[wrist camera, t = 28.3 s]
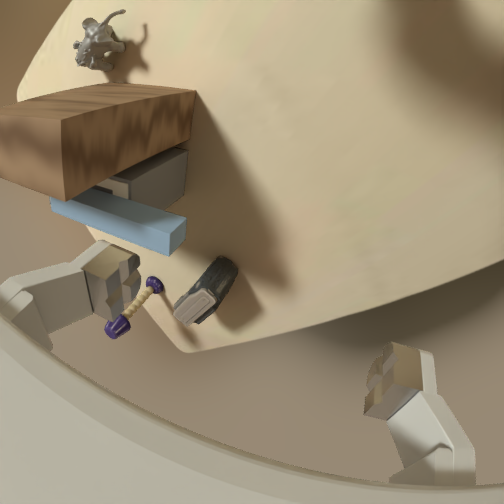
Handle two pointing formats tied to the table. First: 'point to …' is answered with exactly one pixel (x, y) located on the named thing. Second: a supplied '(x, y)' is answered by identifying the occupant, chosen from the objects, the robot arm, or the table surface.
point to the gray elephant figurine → (97, 44)
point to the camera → (206, 292)
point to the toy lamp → (132, 309)
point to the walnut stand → (89, 134)
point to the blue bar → (125, 219)
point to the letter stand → (151, 180)
